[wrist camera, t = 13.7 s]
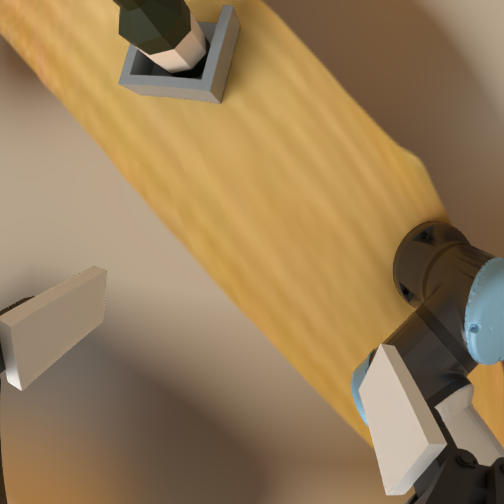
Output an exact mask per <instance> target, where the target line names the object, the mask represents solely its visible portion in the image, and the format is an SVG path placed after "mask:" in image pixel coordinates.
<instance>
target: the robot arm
mask: <svg viewBox="0 0 504 504" xmlns="http://www.w3.org/2000/svg"><path fill="white" fill-rule="evenodd" d="M106 276H107V270H105V269H102V268H99V267H96V266H93V267H91V268H89V269H87V270H85V271H83V272H81V273H79V274H77V275H75V276H73V277H72V278H69V279H68V280H65V281H64V282H62V283H60V284H58V285H56V286H54V287H52V288H51V289H48V290H46V291H45V292H43V293H41V294H39V295H37V296H32V297H28V298H24V299H22V300H20V301H18V302H16V303H15V304H13V305H11V306H9V308H8V307H7V308H5V309H3V310H1V311H0V373H1V372H3V371H4V370H5V371H6V375H7V380H8V382H9V383H11V384H12V385H13V386H15V387H17V388H18V389H20V390H21V391H22V390H23V389H24V388H26V387H27V386H28V385H29V384H30V383H31V382H32V381H34V380H35V379H36V378H37V377H38V376H39V375H40V374H41V373H43V372H44V371H45V370H46V369H47V368H48V367H49V366H51V365H52V364H53V363H54V362H55V361H57V360H58V359H59V358H60V357H61V356H62V355H63V354H65V353H66V352H67V351H68V350H69V349H70V348H72V347H73V346H74V345H75V344H76V343H78V342H79V341H80V340H81V339H82V338H84V337H85V336H86V335H87V334H88V333H89V332H91V331H92V330H93V329H94V328H95V327H97V326H98V325H99V324H100V323H101V322H103V321H104V304H105V303H104V302H105V287H106ZM393 278H394V283H395V286H396V288H397V290H398V292H399V294H400V295H401V296H402V297H403V298H404V299H405V301H406V302H407V303H408V304H410V305H411V306H413V307H414V308H416V309H417V310H416V312H415V311H414V312H413V313H412V314H411V315H410V316H409V317H408V319H407V320H406V321H405V322H404V323H403V324H401V325H400V326H399V327H398V328H397V329H396V330H395V331H394V332H393V333H392V334H391V335H390V336H389V337H388V338H387V339H386V340H385V341H384V342H383V343H382V344H381V343H380V345H379V346H378V347H377V348H376V349H374V350H372V351H371V352H370V354H369V355H368V357H367V358H366V359H365V360H364V361H363V362H362V363H361V364H360V365H359V366H358V367H357V368H356V369H355V371H354V372H353V376H352V379H351V391H352V396H353V399H354V402H355V405H356V407H357V410H358V412H359V414H360V416H361V417H362V419H363V421H364V422H365V424H366V425H367V426H369V429H370V433H371V437H372V440H373V444H374V448H375V452H376V456H377V460H378V463H379V468H380V471H381V475H382V480H383V484H384V488H385V492H386V495H404V494H405V493H406V492H407V491H408V490H409V489H410V488H411V487H412V486H413V485H414V488H415V492H416V493H415V494H414V495H413V496H412V497H411V498H410V499H409V500H408V501H407V502H406V503H405V504H504V448H503V447H502V446H501V444H500V443H499V441H498V440H497V438H496V437H495V436H494V434H493V433H492V431H491V430H490V429H489V427H488V426H487V424H486V423H485V422H484V420H483V419H482V418H481V416H480V415H479V413H478V412H477V411H476V409H475V408H474V407H473V404H472V399H473V392H474V386H473V384H472V383H471V382H470V381H469V380H468V378H467V375H468V374H469V373H470V372H471V371H472V370H473V369H474V368H475V367H476V366H477V365H478V364H479V363H480V364H485V365H493V364H496V363H497V361H503V360H504V259H503V258H498V257H496V256H494V255H491V254H489V253H487V252H485V251H482V250H480V249H478V248H476V247H473V246H471V244H470V243H469V242H468V240H467V239H466V237H465V236H464V235H463V234H462V233H461V232H460V231H459V230H458V229H457V228H455V227H453V226H451V225H449V224H446V223H443V222H427V223H424V224H421V225H419V226H417V227H416V228H414V229H413V230H412V231H410V232H409V233H408V234H407V235H406V237H405V238H404V239H403V240H402V242H401V244H400V245H399V247H398V249H397V252H396V255H395V258H394V263H393ZM0 389H1V379H0ZM0 504H7V498H6V492H5V485H4V477H3V468H2V456H1V440H0Z"/></svg>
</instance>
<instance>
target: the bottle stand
mask: <svg viewBox="0 0 504 504" xmlns="http://www.w3.org/2000/svg"><path fill="white" fill-rule="evenodd" d="M197 23H198V24H199V26H200V28H201V29H202V31H203V33H204V35H205V36H206V38H207V40H208V41H209V43H210V45H211V47H210V50H209V54H208V57H207V61H206V65H205V68H204V72H203V73H202V74H201V75H200V76H199V77H196V78H190V79H189V78H178V77H173V76H172V75H170V74H169V73H167V72H166V71H165V70H163V69H162V68H161V67H160V66H159V65H157V64H156V63H155V62H154V61H152V60H151V59H150V58H149V57H147V56H146V55H145V54H144V53H142V52H141V51H140V50H139V49H137V48H136V47H135V46H134V45H132V44H131V43H130V46H129V49H128V52H127V56H126V59H125V62H124V66H123V69H122V73H121V76H120V80H119V85H121V86H123V87H125V88H127V89H129V90H131V91H133V92H135V93H137V94H139V95H147V96H159V97H170V98H180V99H189V100H197V101H204V102H212V103H218V104H221V101H222V97H223V92H224V88H225V84H226V80H227V76H228V72H229V68H230V65H231V61H232V57H233V53H234V49H235V46H236V42H237V38H238V35H239V31H240V25H239V22H238V19H237V15H236V12H235V9H234V6H232V5H223V7H222V10H221V13H220V16H219V19H218V23H207V22H197Z"/></svg>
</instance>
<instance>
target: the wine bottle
mask: <svg viewBox="0 0 504 504" xmlns="http://www.w3.org/2000/svg"><path fill="white" fill-rule="evenodd" d="M113 1H114V2H115V3H116V4H117V5H118V6H119V7H120V15H119V35H121V36H122V37H123V38H125V39H126V40H127V41H128V42H130V43H131V44H132V45H134V46H135V47H136V48H137V49H139V50H140V51H141V52H142V53H144V54H145V55H146V56H147V57H149V58H150V59H151V60H152V61H154V62H155V63H156V64H157V65H159V66H160V67H161V68H162V69H163V70H165V71H166V72H167V73H169V74H170V75H172V76H173V77H178V78H189V79H190V78H196V77H199V76H200V75H201V74H202V73H203V72H204V68H205V65H206V61H207V57H208V54H209V50H210V47H211V45H210V43H209V41H208V40H207V38H206V36H205V35H204V33H203V31H202V29H201V28H200V26H199V24H198V23H197V21H196V19H195V18H194V16H193V14H192V13H191V11H190V10H189V8H188V6H187V5H186V3H185V1H184V0H113Z"/></svg>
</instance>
